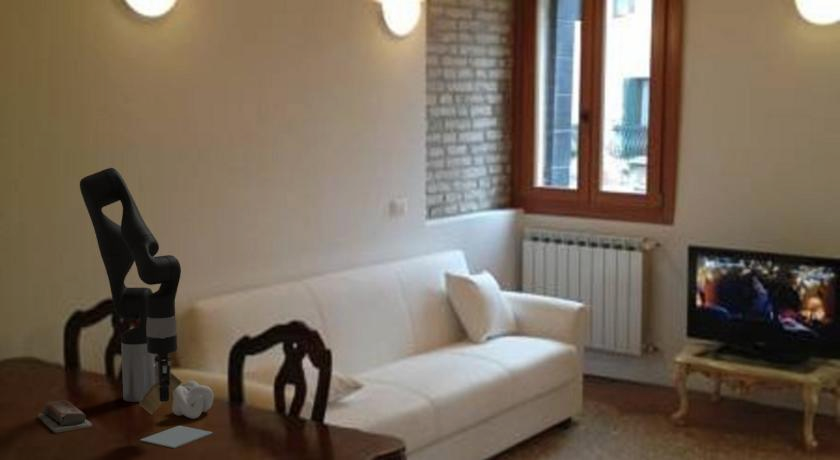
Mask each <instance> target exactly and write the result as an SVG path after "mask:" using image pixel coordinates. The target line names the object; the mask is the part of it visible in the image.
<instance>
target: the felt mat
mask: <svg viewBox="0 0 840 460" xmlns="http://www.w3.org/2000/svg"><path fill="white" fill-rule="evenodd" d="M211 435H214V433H213V431H208V430H204V429H199V428H193V427H187V426H184V425H178V426H174V427H171V428H169V429H165V430H163V431H160V432H157V433H155V434H152V435H149V436H146V437H143V438H141V439H140V440H139V441H140V442H143V443H148V444H154V445H156V446H157V445H158V446H160V447H161V446H162V447H167V448H170V449H176V448H179V447H182V446H184V445H188V444H190V443H192V442H195V441H198V440H200V439H203V438H205V437H209V436H211Z"/></svg>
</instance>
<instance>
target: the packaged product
mask: <svg viewBox="0 0 840 460" xmlns="http://www.w3.org/2000/svg"><path fill="white" fill-rule="evenodd" d="M43 407H44V408H43V413H41V412H39V413H37V417H38V419H39V420H40V419H41V421H42V422H43V424H44V425H45V426H47V428H48V429H50V430H52V431H53V432H54V433H56V434H58V433H59V434H60V433H64V432H70V431H75V430H81V429H82V430H83V429H87V428H88V429H89V428H92V427H93V423H92V422H91V421H90V420H88V419H86V417H87V416H86V414H85V413H84V412H83V411H82V410H80V409H79V408H78V407H76V406H75V405H74V404H73V403H71V401H69V400H66V399H59V400H53V401H48V402H45V403H44V405H43Z"/></svg>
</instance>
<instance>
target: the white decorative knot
mask: <svg viewBox="0 0 840 460" xmlns="http://www.w3.org/2000/svg"><path fill="white" fill-rule="evenodd" d="M172 398H173V401H172V407H171V408H172V413H174V414H175V416H178V417H180V416H184V417H186V418H189V419H191V420H195V419H198V418H200V416H201V414H202V413H205V412H206V411H208V410H209V409H210V408H211V407H212V406H213V403H214V399H215V395H214V392H213V390H212V389H211V388H210V387H209V386H208V385H205V384H204V385H203V384H199V383H198V382H197V381H195V380H188V381H186V382H184V383H183V384H182V385H179V386H178V387H177V388H176V389H175V390H174V391H173V392H172Z"/></svg>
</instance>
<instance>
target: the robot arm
mask: <svg viewBox="0 0 840 460" xmlns="http://www.w3.org/2000/svg"><path fill="white" fill-rule="evenodd" d="M79 189H80V193H81V196H82V199H83V201H84V205H85V207H86V209H87V213H88V215H89V217H90V220H91V223H92V226H93V230H94V233H95V234H94V235H95V236H96V243H97V246H98V248H99V252H100V257H101V259H102V262H103V265H104V268H105V271H106V274H107V278H108V283H109V288H110V293H111V299H112V303H113V308H114V312H115V314H116V316H117V317H118V318H119V319H124V320H126V319H127V320H139V324H137V325H136V326H135V327H132V328H129V329H127V330H124V331H123V332H121V333H120V334H121V335H120V341H121V343H120V344H121V369H122V370H121V371H122V372H121V373H122V394H123V396H122V397H123V399H122V400H124V401H125V402H130V403H131V402H133V403H137V402H138V403H139V400H140V399H141V398H142V397H143V396H144V395H145V394H146V393H147V392H148V391H149V390H150V388H151V387H152V386H153V385H154V384H155V383H156V382H157V381H158V380H159V387H160V401H161V402H163V401H164V402H169V400H170V396H169V386H170V376H171V372H170V371H171V366H172V359H171V357H170V356H169V354H172V353H175V352H177V351H178V334H177V333H178V329H177V320H176V302H175V301H176V296H177V293H178V288H179V284H180V279H181V274H182V273H181V272H182V269H181V267H182V266H181V263H180V261H179V260H178V258H177V257H175V255H170V254H166V255H160V256H155V255H157V254H158V252H159V250H160V246H159V242H158V240H157V239H156V237H155V235H154V234H153V233H152V232H151V230H150V228H149V227H148V226H147V224H146V223H145V221H144V218H143V217H142V215H141V213H140V210H139V209H138V206H137V204H136V201H135V200H134V198H133V196H132V194H131V191H130V190H129V188H128V186H127V183H126V181H125V180H124V178H123V176H122V175H121V173H120V172H119V171H118V170H117V169H116V168H114V167H109V168H108V167H107V168H105V169H102V170H101V171H97V172H95V173H92V174H89V175H87V176H84V177H83V178H81V179H80V181H79ZM119 201H120V203H121V206H122V215H121V223H120V224H118V223H116V222H115V221H113V220H112V219H111V218H109V217H108V216H107V215H105V214H104V212H103V210H102V209H103V208H104V207H108V206H110V205H111V204H115V203H117V202H119ZM134 264H135V267H136V271H137V275H138V278H139V279H140V281H142V282H143V284H146V285H149V286H154V285H160V286H159V288H158V289H157V290H156V291H155V292H153V291H152V289H151V288H149V287H128V286H126V284H125V280H126V278H127V276H128V274H129V272H130V271H131V269H132V266H133V265H134ZM162 379H167V381H164V382H162ZM164 402H163V403H164Z"/></svg>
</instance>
